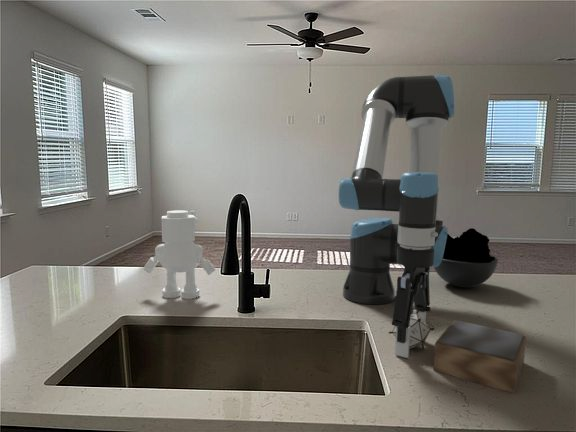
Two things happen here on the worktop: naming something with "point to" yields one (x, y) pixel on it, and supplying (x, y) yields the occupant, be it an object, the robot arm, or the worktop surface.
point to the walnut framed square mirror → (481, 355)
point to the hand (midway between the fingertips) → (410, 346)
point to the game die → (416, 331)
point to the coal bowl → (467, 260)
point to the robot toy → (179, 254)
